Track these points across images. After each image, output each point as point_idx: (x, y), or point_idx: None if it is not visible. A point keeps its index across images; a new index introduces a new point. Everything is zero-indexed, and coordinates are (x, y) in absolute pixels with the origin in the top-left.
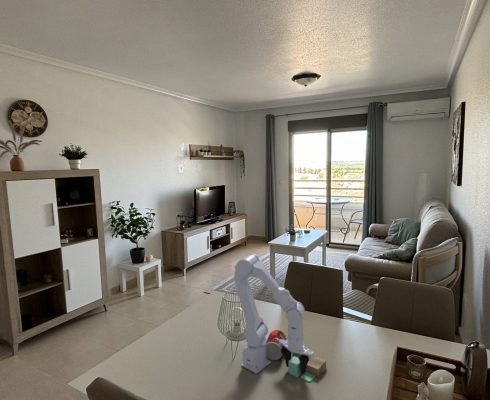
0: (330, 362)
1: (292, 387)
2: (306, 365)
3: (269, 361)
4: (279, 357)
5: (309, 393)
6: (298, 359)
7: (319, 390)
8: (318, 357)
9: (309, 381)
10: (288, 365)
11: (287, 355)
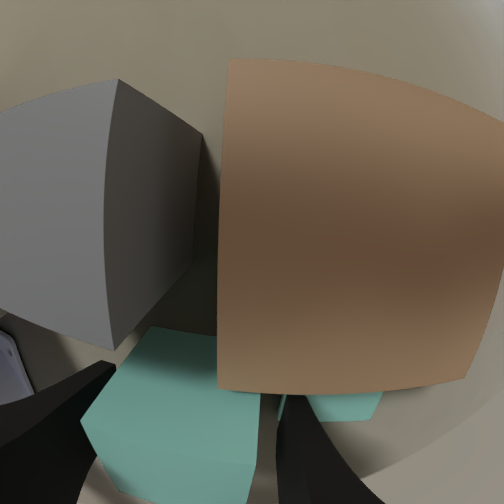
0: (434, 34)
1: (269, 479)
2: (331, 448)
3: (9, 349)
4: (4, 313)
5: (378, 464)
6: (184, 471)
7: (433, 422)
8: (419, 91)
9: (365, 418)
10: None
11: (65, 489)
